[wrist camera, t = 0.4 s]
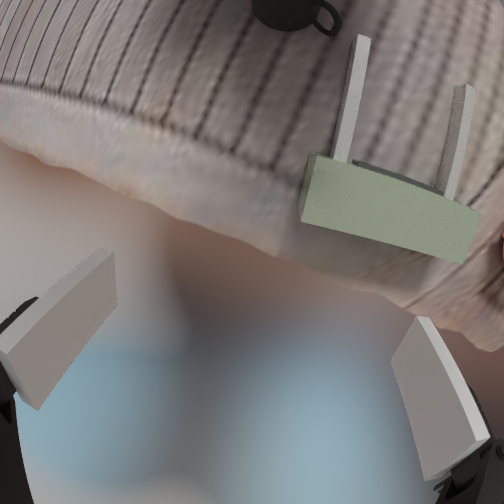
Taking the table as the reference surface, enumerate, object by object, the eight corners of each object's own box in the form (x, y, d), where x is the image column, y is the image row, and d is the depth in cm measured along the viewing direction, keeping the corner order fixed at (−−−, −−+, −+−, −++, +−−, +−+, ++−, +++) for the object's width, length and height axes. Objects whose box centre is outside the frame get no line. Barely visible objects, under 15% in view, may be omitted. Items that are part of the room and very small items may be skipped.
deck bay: (334, 35, 26) (344, 15, 20) (475, 97, 26) (504, 96, 20) (297, 205, 36) (300, 221, 29) (438, 243, 35) (462, 264, 29)
